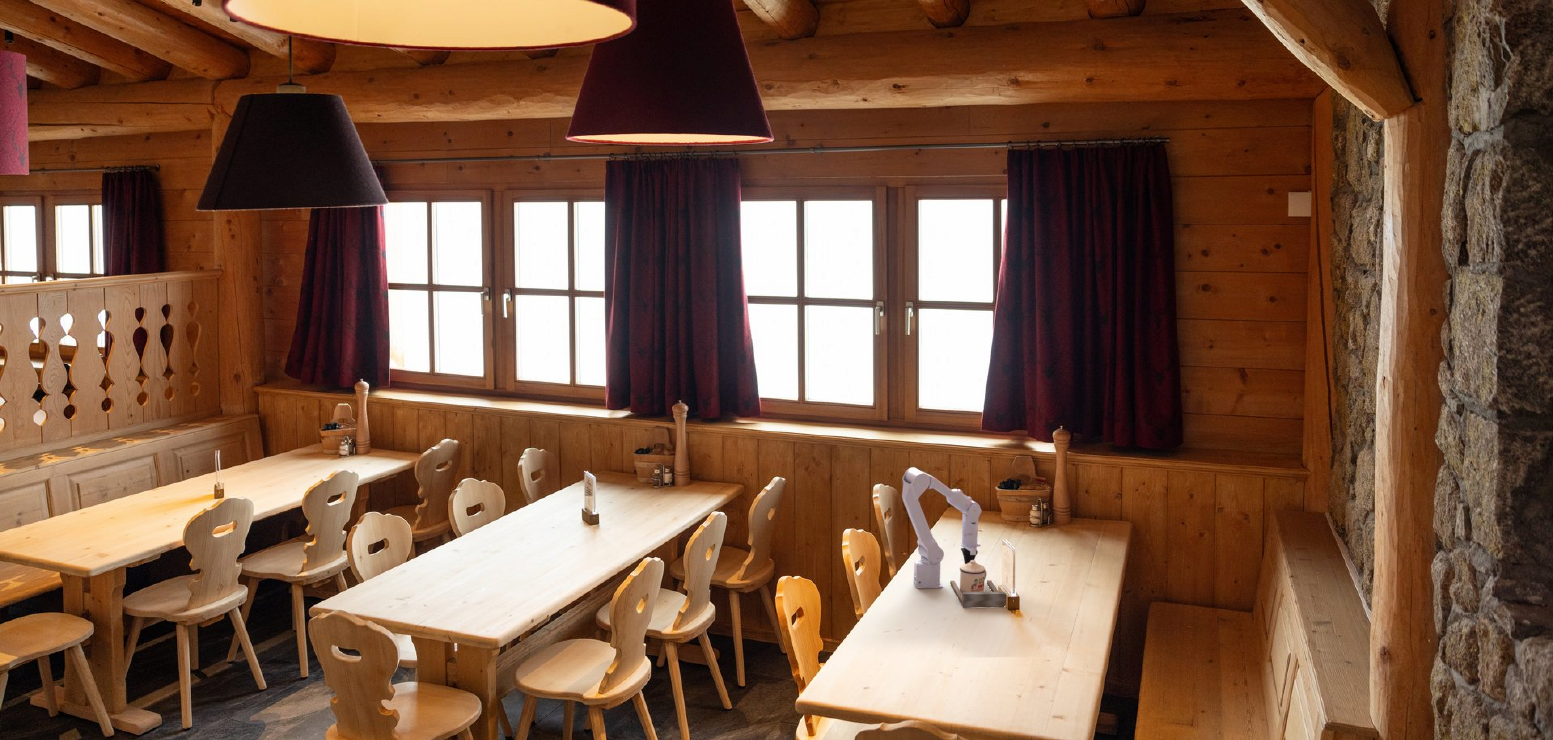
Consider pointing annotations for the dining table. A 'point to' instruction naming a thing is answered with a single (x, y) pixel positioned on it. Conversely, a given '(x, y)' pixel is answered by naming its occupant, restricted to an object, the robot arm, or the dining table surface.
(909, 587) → the dining table surface
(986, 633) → the dining table surface
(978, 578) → the teacup with lid
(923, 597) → the dining table surface
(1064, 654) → the dining table surface
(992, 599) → the guide track
